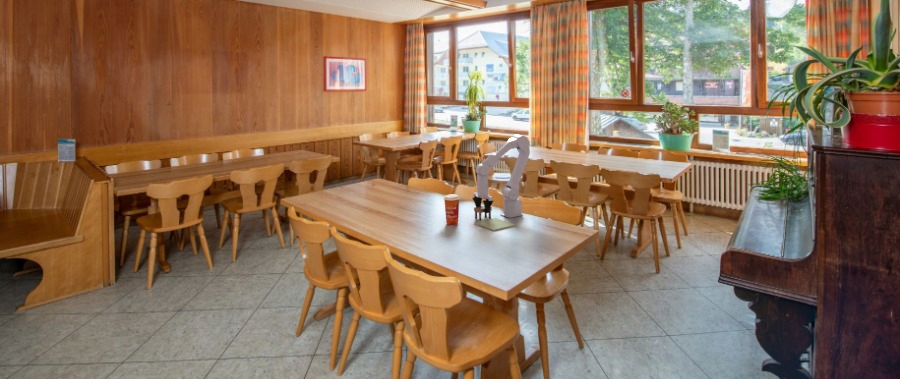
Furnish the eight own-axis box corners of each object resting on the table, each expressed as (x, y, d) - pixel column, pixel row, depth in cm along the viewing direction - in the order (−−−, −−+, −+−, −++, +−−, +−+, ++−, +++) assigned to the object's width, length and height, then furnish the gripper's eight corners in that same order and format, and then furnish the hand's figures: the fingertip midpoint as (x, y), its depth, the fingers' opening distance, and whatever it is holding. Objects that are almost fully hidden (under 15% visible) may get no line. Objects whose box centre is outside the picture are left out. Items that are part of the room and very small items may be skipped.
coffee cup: (441, 225, 247) (440, 196, 244) (449, 221, 254) (448, 193, 251) (456, 227, 243) (455, 198, 240) (463, 222, 250) (462, 194, 247)
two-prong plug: (486, 215, 262) (485, 205, 261) (491, 217, 258) (491, 207, 257) (474, 218, 258) (474, 207, 257) (479, 220, 254) (479, 209, 252)
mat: (495, 219, 255) (495, 217, 255) (515, 226, 242) (515, 224, 242) (474, 223, 248) (474, 222, 248) (493, 231, 235) (493, 229, 234)
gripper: (468, 185, 258) (468, 209, 261) (484, 190, 246) (485, 215, 249) (479, 183, 262) (479, 207, 265) (495, 188, 250) (495, 213, 253)
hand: (482, 211), depth 257 cm, fingers open, 7 cm apart
